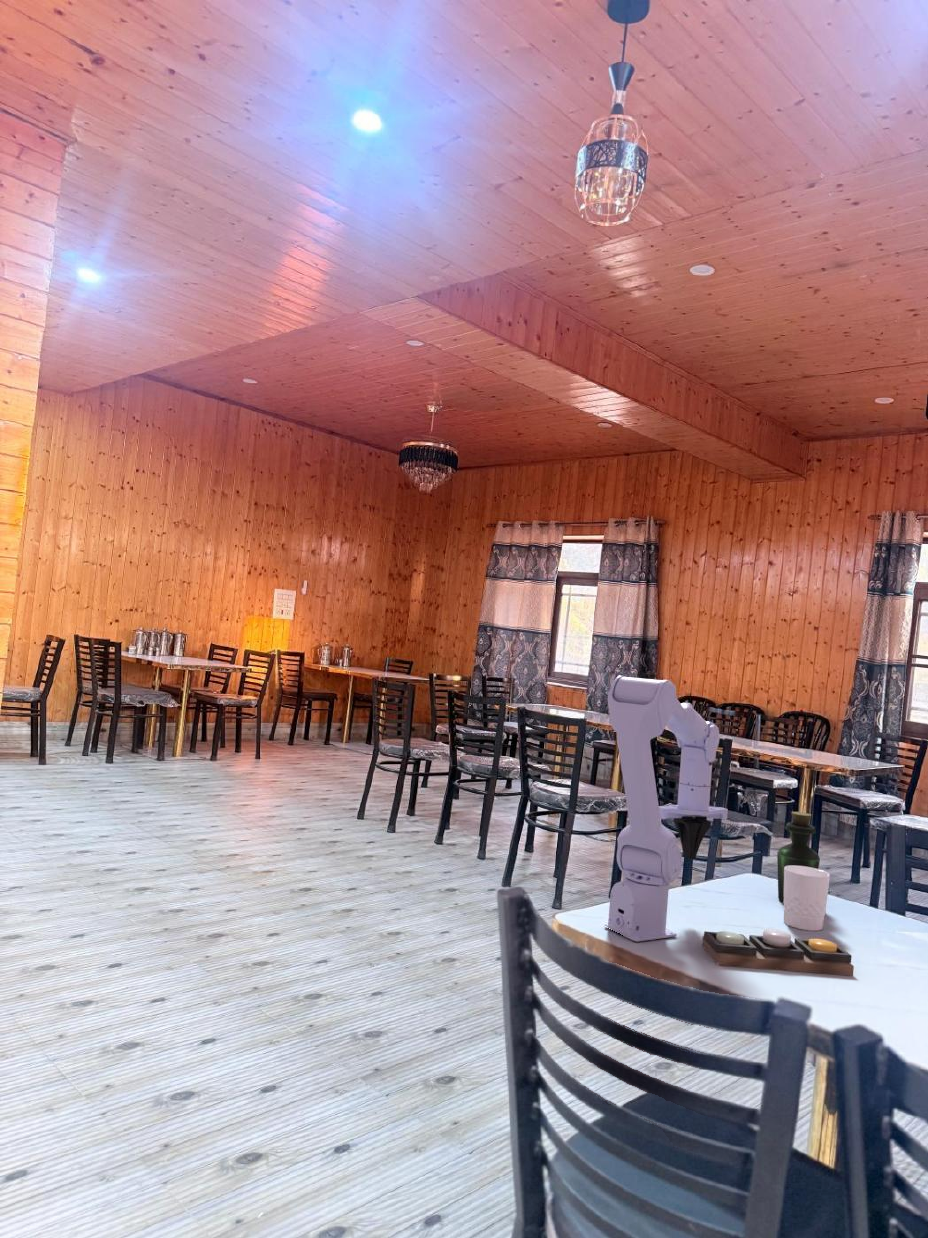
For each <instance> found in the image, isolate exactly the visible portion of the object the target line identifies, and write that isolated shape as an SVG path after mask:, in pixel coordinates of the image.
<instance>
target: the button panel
mask: <svg viewBox="0 0 928 1238" xmlns="http://www.w3.org/2000/svg"><path fill="white" fill-rule="evenodd" d="M717 932H718V931H717ZM717 932H715V931H704V932H703V936H702V938H701V939H702V940H701V946H702V947H703V949H704V950H705V951H706V952H707V953H708V954H709V956H711V958H712V959H713V960H714V961H715V962H716V963H717V965H718V966H723V967H737V968H749V969H750V968H751V969H760V970H761V969H763V970H772V971H773V970H776V971H777V970H778V971H787V972H789V971H790V972H800V973H810V974H811V973H814V974H826V975H835V976H836V975H839V976H849V977H850V976H851V977H854V965H853V964H852V954H850V953H849V952H848V951H846V950H845V949H844V948H842V947H841V946H840V945H838V944H837V943H836V942H835V941H830V942H833V943H835V944H836V945H837V953H833V952H820V951H813V950H812V949H811V948H809V947H808V944H809V939H803V938H794V942H793V940H791V942H790V946H789V947H777V946H773V945H769V944H767V943H765V942H763V935H752V934H749V937H748V938H747V937H746V936H745V935H744V934H741V933H738V934H739V935H741V936H743V937H744V945H731V944H719V943H718V941H717V940H716V936H717Z"/></svg>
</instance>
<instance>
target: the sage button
mask: <svg viewBox="0 0 928 1238" xmlns="http://www.w3.org/2000/svg"><path fill="white" fill-rule="evenodd" d="M739 934H740V933H735V932H732V931H726V930H725V931H717V936H716V940H717V941H718V943H719V944H731V945H744V937H743V936H741V935H739Z"/></svg>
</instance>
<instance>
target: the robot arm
mask: <svg viewBox="0 0 928 1238" xmlns="http://www.w3.org/2000/svg"><path fill="white" fill-rule="evenodd" d="M607 707H608V712H609V717H610V724H611V729H612V730H614V732H616V740H617V746H618V755H619V761H620V769H621V773H622V780H623V787H624V794H625V800H626V808H627V815H628V821H629V824H628V825H627V826H625V827H624V828H623V829H622V830H621V831H620V833H619V835H618V837H617V838H616V839H617V850H616V862H617V865H618V868H619V870H620V871H622V877H625V878H624V879H623V880H621V881H618V882H616V883H615V884H614V885H612V888H611V891H610V897H609V907H608V908H609V909H608V922H607V923H605V924H604V927H605V926H607V927H608V928H610V929H612V930H613V931H612V930H611V931H612V932H614V931H615V932H614V933H616V932H617V934H618V933H620V934H621V936H622V935H623V936H622V937H625V938H627V939H629V940H631V941H632V942H645V941H652V940H658V939H660V940H661V939H666V938H674V937H677V933H676V932H674V931H673V930H670V929H667V913H668V903H669V901H668V900H669V892H670V891H669V890H670V884H671V883H674V881H676V879H678V877H679V875H680V873H681V870H682V867H683V866H682V865H683V857H685V858H687V859H690V860H691V859H693V860H694V859H696V858H697V855H698V852H699V850H700V849H699V848H700V847H701V843H702V841H703V839H704V837H706V834H707V832H708V831H709V830H710V828H712V822H711V821H710V820H708V819H718V820H719V819H721V820H728V812H729V810H728V808H724V807H721V806H719V807H718V806H710V801H711V800H710V799H711V786H712V771H713V762H715V761H716V756H717V755H716V754H717V750H718V747H719V744H720V729H719V727H718V726H717V724H715V723H714V722H712V721H708V720H707V721H706V720H705V719H704V718H703V717H702V715H701V714H700V713H698V711H696V710H695V709H694V708H693V707H694V706H693V704H692V703H690V702H682V703H681V702H680V701H679V700H678V698H677V687H676V685H675V684H674V683H673V682H672V681H671V680H669V679H663V680H662V679H650V678H640V677H630V676H629V677H628V676H625V675H618V676H617V677H615V678H614V680H613V681H612V683H611V685H610V688H609V691H608V694H607ZM665 728H667V729H668V730H669V731H670V733H672V734H674V737H675V739H676V744H677V746H678V748H680V749H681V750H680V751H681V753H680V768H679V780H678V792H677V804H674V805H662V806H659V805H660V804H659V800H658V792H657V785H656V777H655V776H656V775H655V769H654V763H653V762H654V761H653V756H652V755H653V754H652V748H651V740H652V739H654V738H657V737H659V736H661V735H663V732H664V730H665ZM661 819H663V820H667V819H673V824H674V825H675V827H676V830H677V832H678V835H679V839H680V844H681V849H682V852H681V850H680V848H679V845H678V841H677V837H676V835H675V834H674V833H673V832H672V831H671V830H670V829H669V828H667V827H666V826H665V825H664V824H663V822H662V820H661ZM608 928H607V929H608ZM610 929H609V930H610ZM620 934H619V935H620Z"/></svg>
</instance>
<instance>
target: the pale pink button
mask: <svg viewBox="0 0 928 1238" xmlns="http://www.w3.org/2000/svg"><path fill="white" fill-rule="evenodd" d="M762 936H763V942H765V943H767V944H769V945H773V946H777V947H789V946H790V942H791V941H792V935H791V934H790V933H788V932H786V931H782V930H778V929H773V928H772V929H770V928H769V929H763V931H762Z"/></svg>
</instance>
